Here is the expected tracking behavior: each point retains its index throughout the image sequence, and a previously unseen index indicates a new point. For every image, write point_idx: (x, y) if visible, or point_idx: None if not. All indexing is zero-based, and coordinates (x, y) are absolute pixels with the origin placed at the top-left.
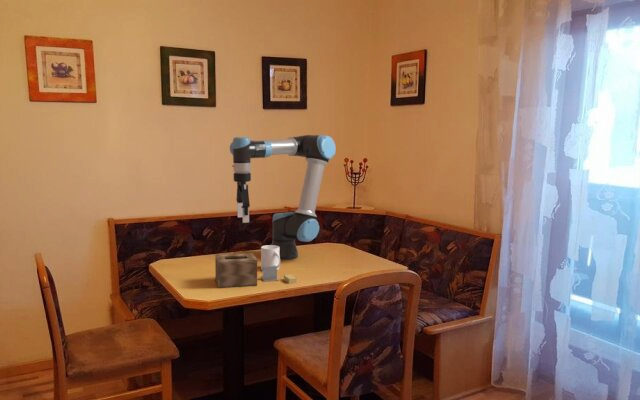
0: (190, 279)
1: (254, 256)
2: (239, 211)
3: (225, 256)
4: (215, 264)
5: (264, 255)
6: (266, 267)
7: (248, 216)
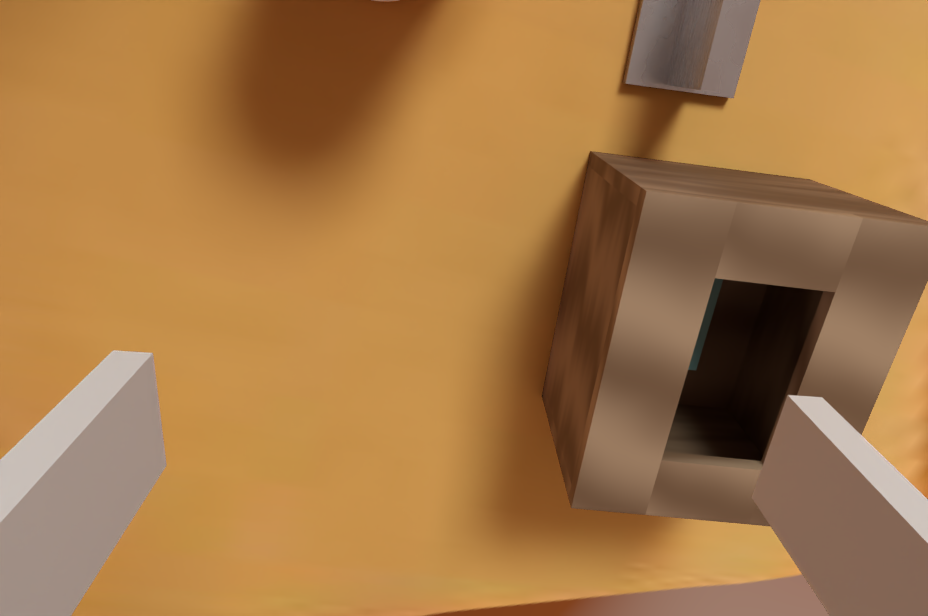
0: (479, 517)
1: (796, 212)
2: (95, 530)
3: (664, 449)
4: (559, 457)
5: None
6: (741, 62)
7: (902, 490)
